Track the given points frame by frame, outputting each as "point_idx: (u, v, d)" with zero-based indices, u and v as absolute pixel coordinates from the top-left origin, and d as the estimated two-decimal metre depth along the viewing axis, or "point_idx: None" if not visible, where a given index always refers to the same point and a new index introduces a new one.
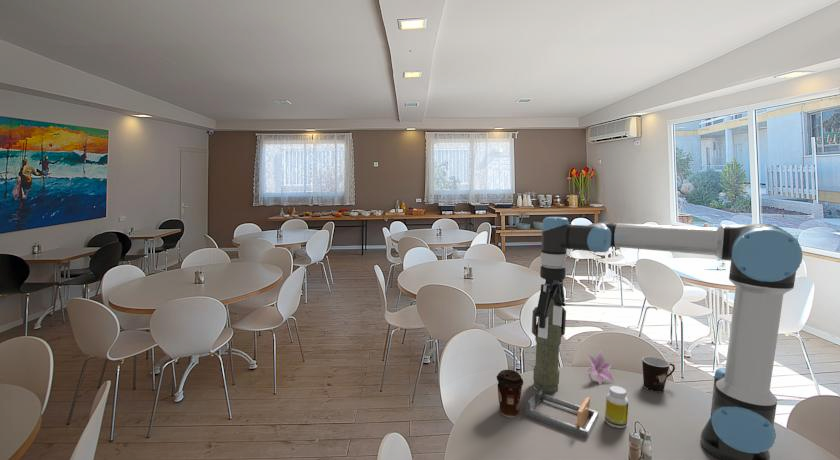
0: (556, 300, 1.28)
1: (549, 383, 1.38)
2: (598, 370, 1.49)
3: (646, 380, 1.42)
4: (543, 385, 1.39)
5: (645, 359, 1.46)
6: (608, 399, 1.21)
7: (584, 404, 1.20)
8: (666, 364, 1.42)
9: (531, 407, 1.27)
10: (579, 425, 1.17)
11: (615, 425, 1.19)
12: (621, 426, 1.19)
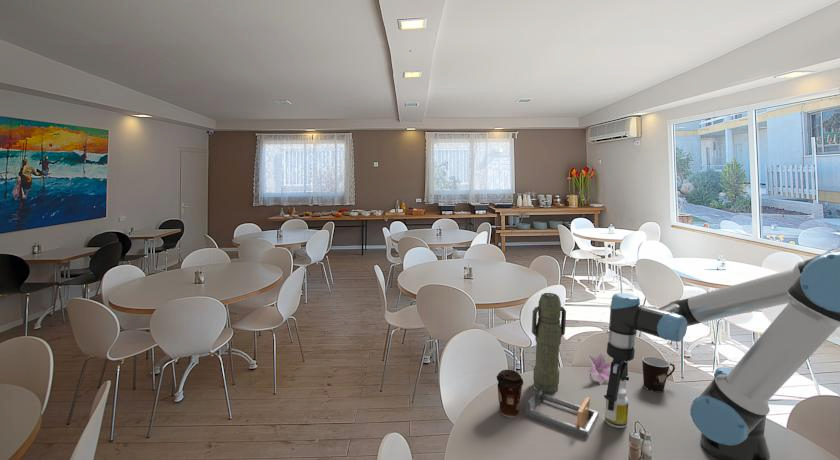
0: None
1: (549, 383, 1.38)
2: (599, 370, 1.49)
3: (646, 380, 1.42)
4: (543, 385, 1.39)
5: (645, 359, 1.46)
6: None
7: (584, 404, 1.20)
8: (666, 364, 1.42)
9: (531, 407, 1.27)
10: (579, 425, 1.17)
11: (615, 425, 1.19)
12: (621, 426, 1.19)
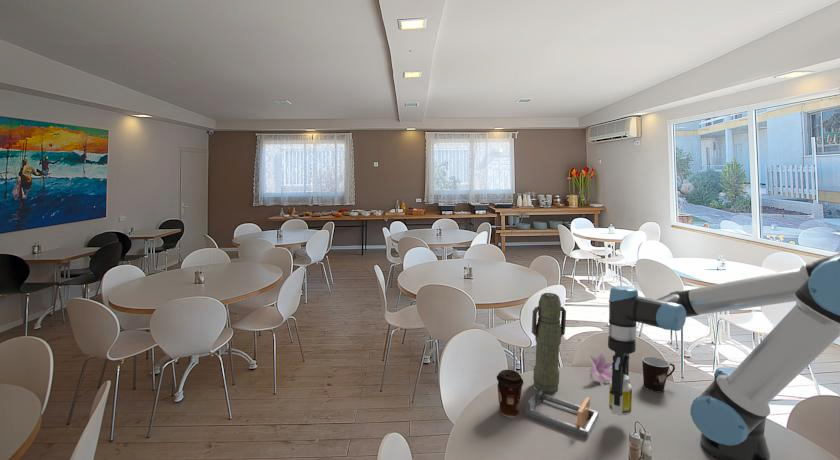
0: None
1: (549, 383, 1.38)
2: (599, 370, 1.49)
3: (646, 380, 1.42)
4: (543, 385, 1.39)
5: (645, 359, 1.46)
6: (611, 386, 1.19)
7: (584, 404, 1.20)
8: (666, 364, 1.42)
9: (531, 407, 1.27)
10: (579, 425, 1.17)
11: None
12: (625, 413, 1.17)
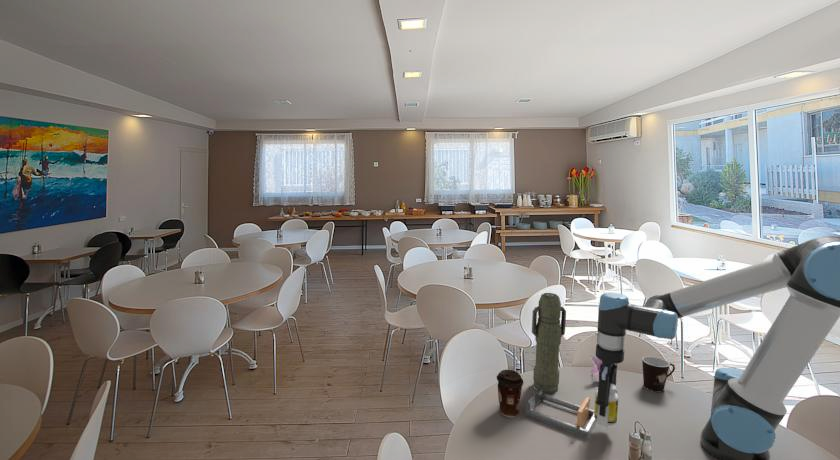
0: None
1: (549, 383, 1.38)
2: (600, 371, 1.49)
3: (646, 380, 1.42)
4: (543, 385, 1.39)
5: (645, 359, 1.46)
6: (597, 395, 1.16)
7: (584, 404, 1.20)
8: (666, 364, 1.42)
9: (531, 407, 1.27)
10: (579, 425, 1.17)
11: None
12: (611, 423, 1.14)
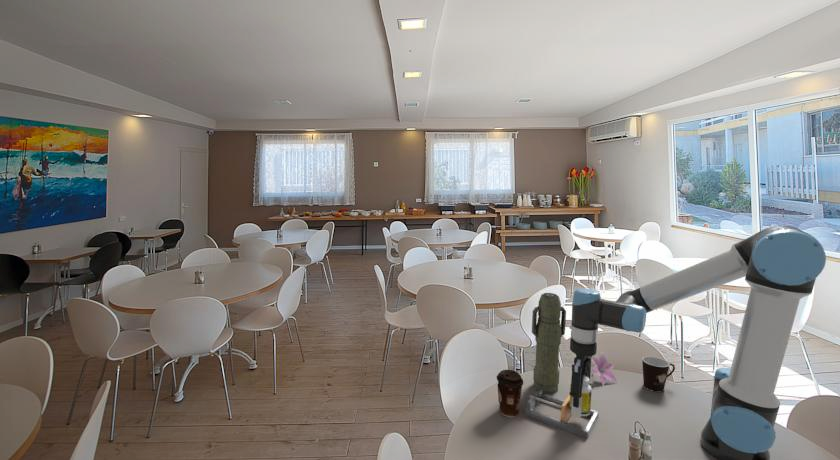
0: None
1: (549, 383, 1.38)
2: (601, 371, 1.49)
3: (646, 380, 1.42)
4: (543, 385, 1.39)
5: (645, 359, 1.46)
6: None
7: (568, 399, 1.23)
8: (666, 364, 1.42)
9: (531, 407, 1.27)
10: (563, 419, 1.20)
11: None
12: (584, 414, 1.18)
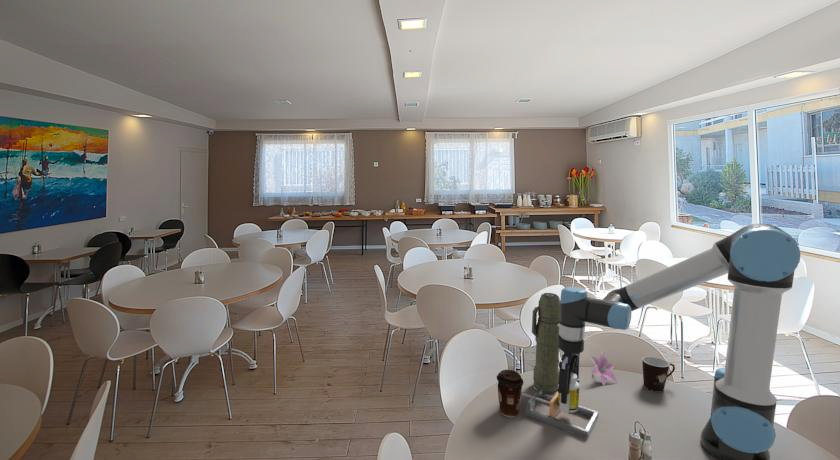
0: None
1: (549, 383, 1.38)
2: (601, 371, 1.49)
3: (646, 380, 1.42)
4: (543, 385, 1.39)
5: (645, 359, 1.46)
6: None
7: (557, 395, 1.25)
8: (666, 364, 1.42)
9: (531, 407, 1.27)
10: (551, 415, 1.22)
11: None
12: (572, 410, 1.21)
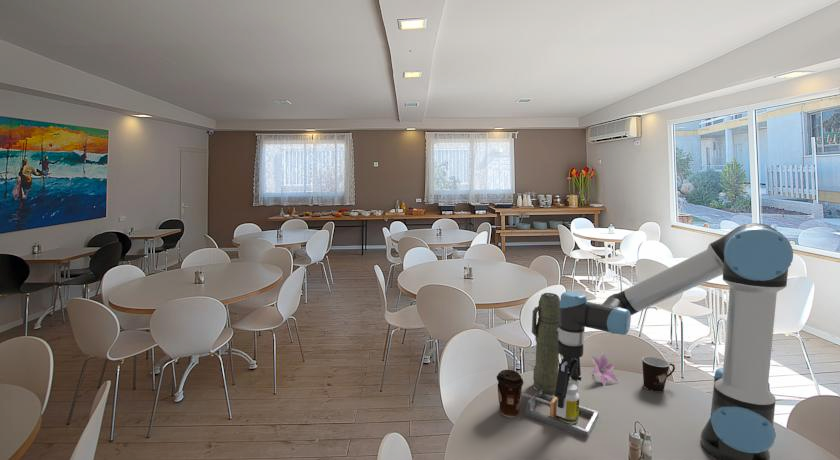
0: (572, 374, 1.27)
1: (549, 383, 1.38)
2: (601, 371, 1.49)
3: (646, 380, 1.42)
4: (543, 385, 1.39)
5: (645, 359, 1.46)
6: None
7: None
8: (666, 364, 1.42)
9: (531, 407, 1.27)
10: (552, 415, 1.22)
11: (566, 421, 1.21)
12: (571, 422, 1.21)
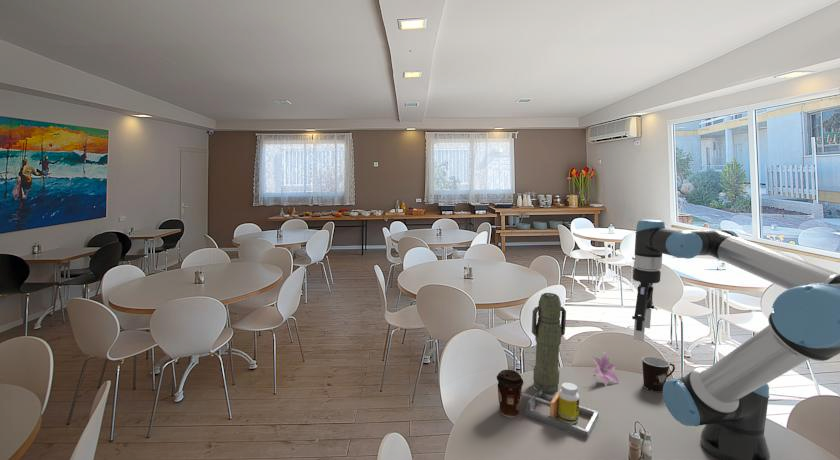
0: None
1: (549, 383, 1.38)
2: (603, 371, 1.49)
3: (646, 380, 1.42)
4: (543, 385, 1.39)
5: (645, 359, 1.46)
6: (560, 395, 1.23)
7: (557, 395, 1.25)
8: (666, 364, 1.42)
9: (531, 407, 1.27)
10: (552, 415, 1.22)
11: (566, 421, 1.21)
12: (571, 422, 1.21)
